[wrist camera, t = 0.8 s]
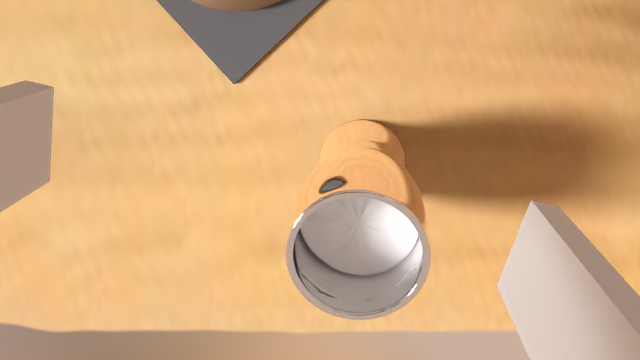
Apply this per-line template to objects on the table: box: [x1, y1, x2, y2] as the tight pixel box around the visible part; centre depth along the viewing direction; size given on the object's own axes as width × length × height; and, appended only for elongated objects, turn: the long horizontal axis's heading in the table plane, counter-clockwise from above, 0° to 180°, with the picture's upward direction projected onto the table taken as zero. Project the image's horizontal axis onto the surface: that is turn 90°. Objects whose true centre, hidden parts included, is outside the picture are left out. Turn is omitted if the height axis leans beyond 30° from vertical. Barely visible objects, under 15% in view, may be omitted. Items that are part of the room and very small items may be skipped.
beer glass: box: [286, 120, 431, 320], centre depth 31 cm, size 7×7×15 cm
